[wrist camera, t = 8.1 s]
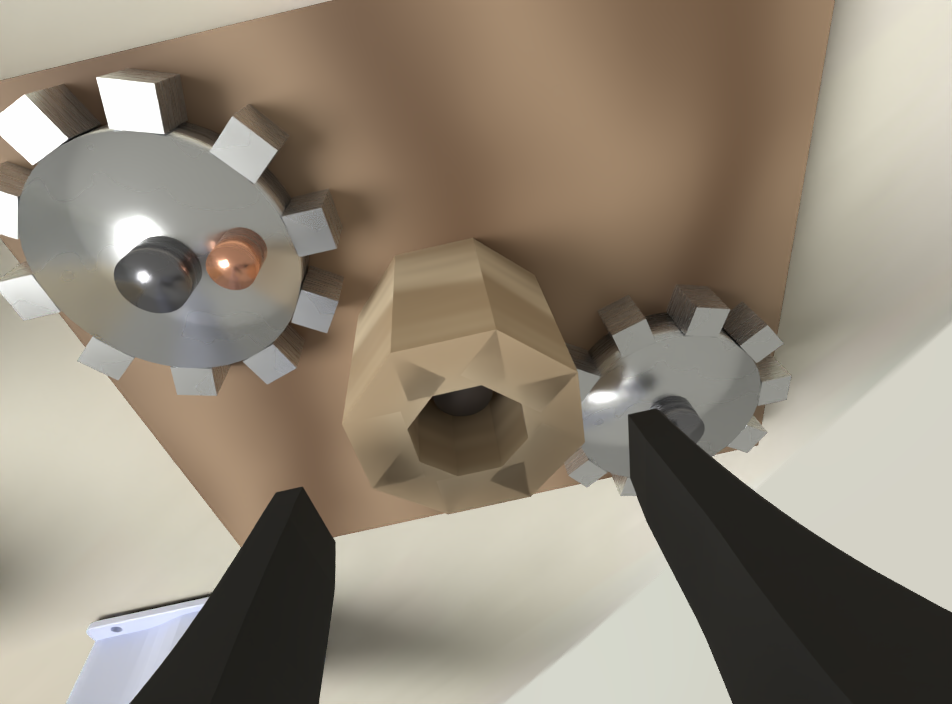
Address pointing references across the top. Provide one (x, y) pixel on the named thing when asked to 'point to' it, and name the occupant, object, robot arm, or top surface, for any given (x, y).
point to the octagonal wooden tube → (460, 381)
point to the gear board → (482, 187)
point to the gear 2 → (674, 378)
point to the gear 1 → (163, 233)
